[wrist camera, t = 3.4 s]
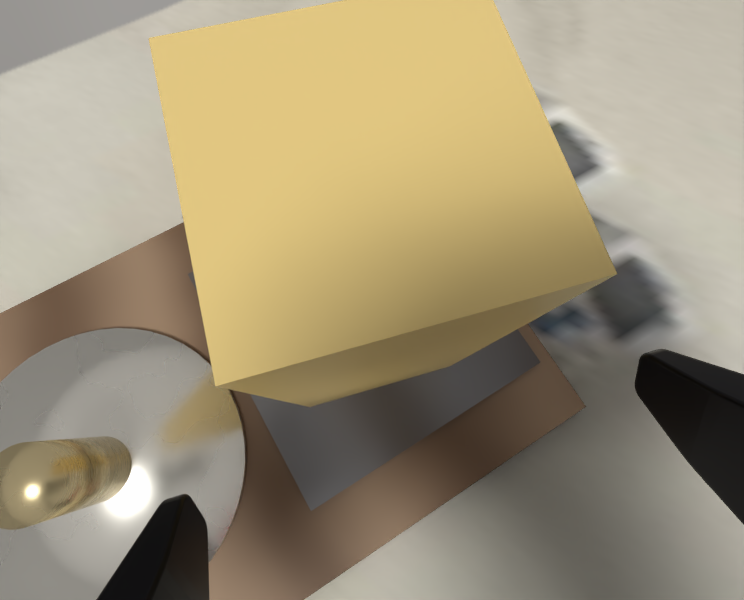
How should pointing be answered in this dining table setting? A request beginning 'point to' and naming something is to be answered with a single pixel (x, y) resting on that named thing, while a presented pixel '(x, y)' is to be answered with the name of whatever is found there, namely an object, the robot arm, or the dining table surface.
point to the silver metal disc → (108, 456)
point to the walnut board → (317, 427)
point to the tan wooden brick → (366, 193)
